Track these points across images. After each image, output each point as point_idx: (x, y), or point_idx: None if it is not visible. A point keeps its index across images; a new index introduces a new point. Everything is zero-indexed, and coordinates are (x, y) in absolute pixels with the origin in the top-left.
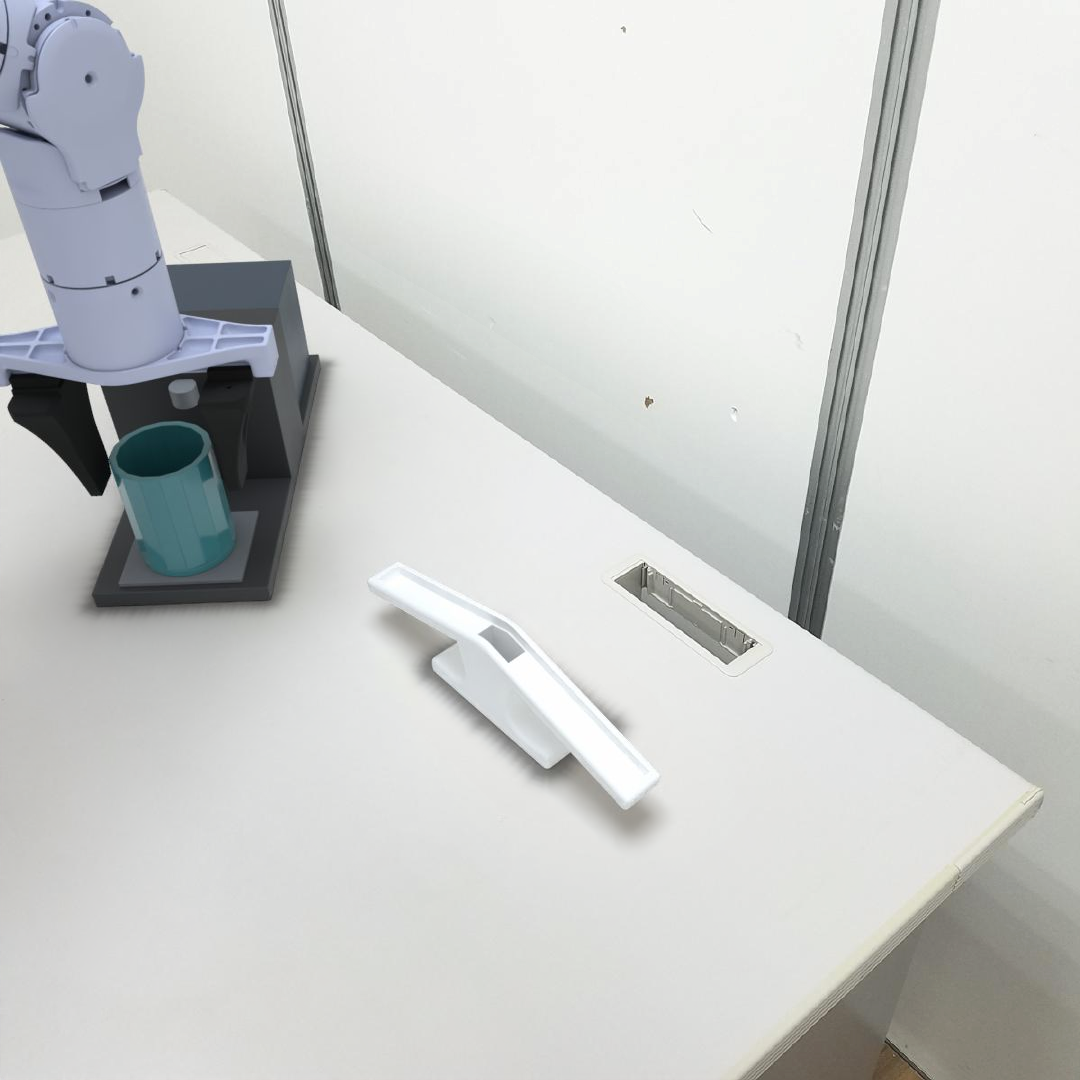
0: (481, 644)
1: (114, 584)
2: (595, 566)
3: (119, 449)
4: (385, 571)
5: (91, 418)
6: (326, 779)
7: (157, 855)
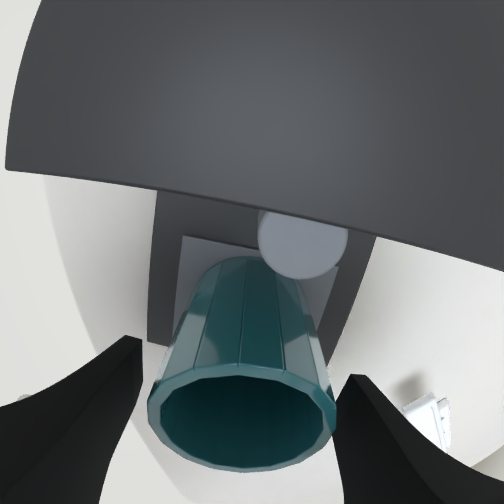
0: None
1: (167, 336)
2: None
3: (160, 410)
4: (422, 409)
5: (91, 410)
6: (320, 465)
7: (231, 478)
